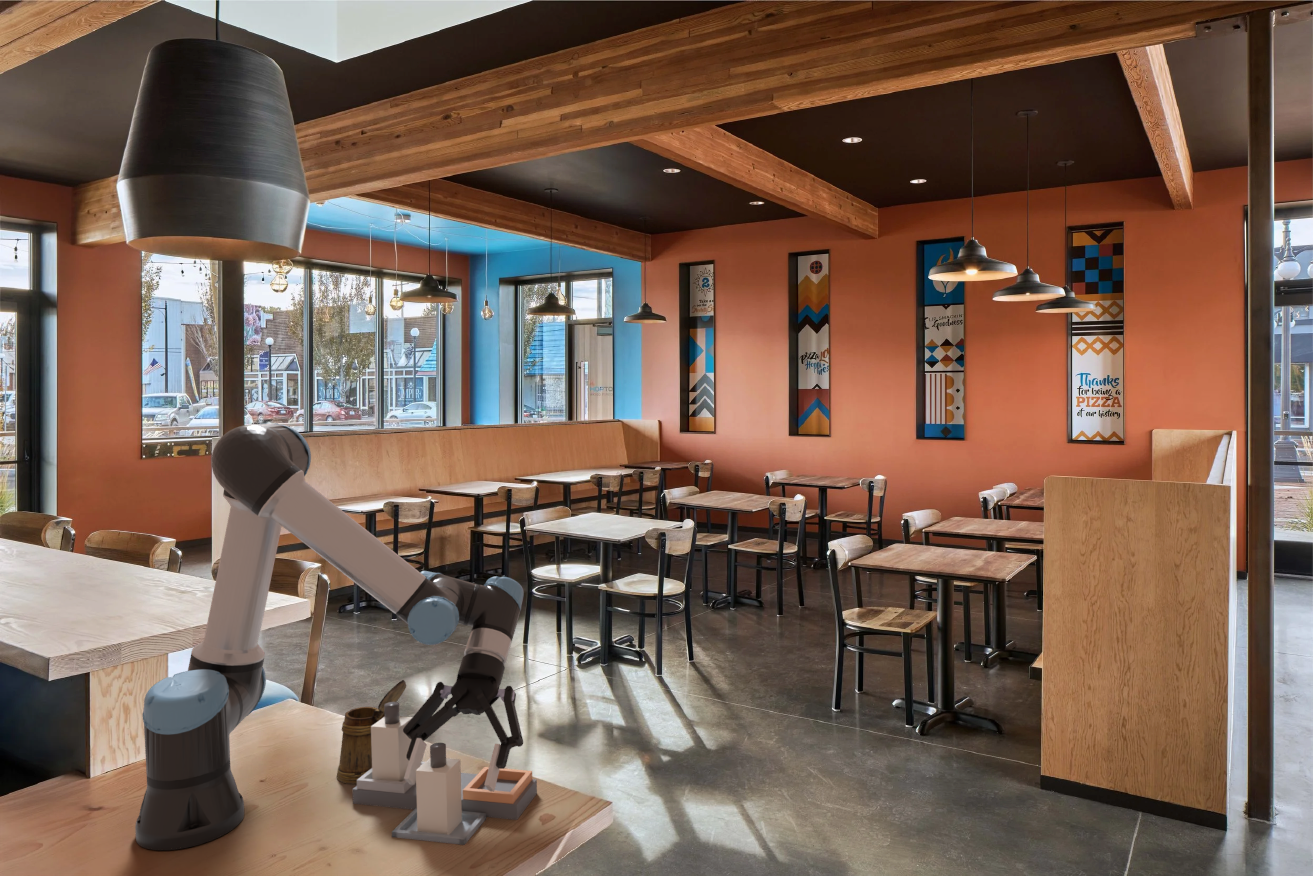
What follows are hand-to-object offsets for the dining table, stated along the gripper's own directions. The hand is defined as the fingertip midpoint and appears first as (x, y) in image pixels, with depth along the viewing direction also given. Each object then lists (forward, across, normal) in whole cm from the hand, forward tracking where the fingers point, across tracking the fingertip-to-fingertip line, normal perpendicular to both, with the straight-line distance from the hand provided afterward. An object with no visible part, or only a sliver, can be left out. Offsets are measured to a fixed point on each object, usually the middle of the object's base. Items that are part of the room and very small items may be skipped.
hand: (448, 785), depth 131 cm
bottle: (+5, +1, -3) cm, 6 cm away
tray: (+6, +1, -4) cm, 7 cm away
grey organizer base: (-1, +4, -10) cm, 11 cm away
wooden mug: (-6, +22, -16) cm, 27 cm away
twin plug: (-3, +14, -8) cm, 16 cm away
